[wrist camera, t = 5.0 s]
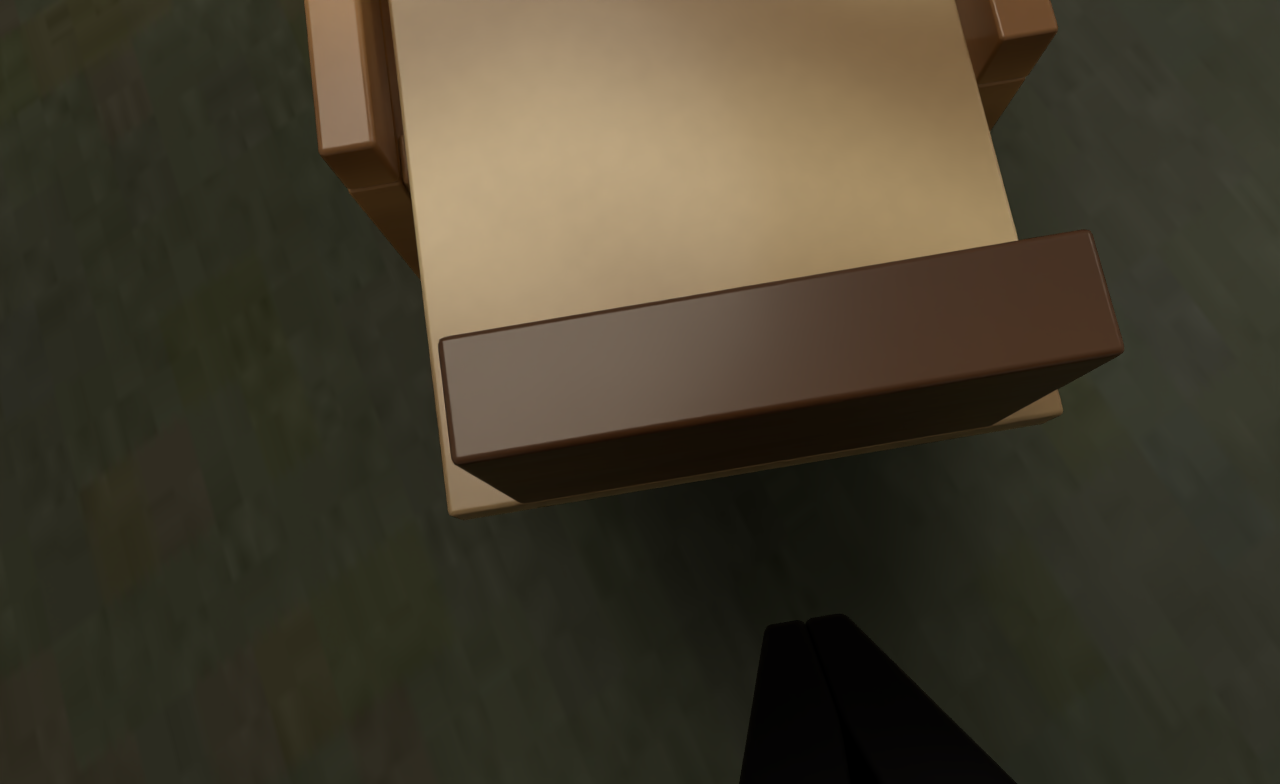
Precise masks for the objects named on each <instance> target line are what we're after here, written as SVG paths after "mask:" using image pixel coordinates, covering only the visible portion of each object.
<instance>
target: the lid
mask: <svg viewBox="0 0 1280 784" xmlns="http://www.w3.org/2000/svg"><path fill="white" fill-rule="evenodd" d="M388 6H389V14H390V23H391V31H392V40H393V48H394V57H395V65H396V74H397V82H398V91H399V100H400V108H401V117H402V125H403V134H404V142H405V151H406V159H407V168H408V176H409V185H410V193H411V202H412V210H413V219H414V227H415V236H416V244H417V253H418V261H419V270H420V278H421V287H422V295H423V304H424V312H425V321H426V329H427V338H428V346H429V355H430V363H431V372H432V380H433V389H434V397H435V406H436V414H437V423H438V431H439V440H440V448H441V457H442V465H443V474H444V483H445V491H446V500H447V508H448V513H449V515H450V516H452V517H455V518H458V519H461V520H468V519H474V518H480V517H486V516H492V515H498V514H504V513H510V512H516V511H522V510H528V509H534V508H540V507H546V506H552V505H558V504H564V503H570V502H576V501H582V500H588V499H594V498H600V497H606V496H612V495H618V494H624V493H630V492H636V491H642V490H648V489H654V488H660V487H666V486H672V485H678V484H684V483H690V482H696V481H702V480H708V479H714V478H720V477H726V476H732V475H738V474H744V473H750V472H756V471H762V470H768V469H774V468H780V467H786V466H792V465H798V464H804V463H810V462H816V461H822V460H828V459H834V458H840V457H846V456H852V455H858V454H864V453H870V452H876V451H882V450H888V449H894V448H900V447H906V446H912V445H918V444H924V443H930V442H936V441H942V440H948V439H954V438H960V437H966V436H972V435H978V434H984V433H990V432H996V431H1002V430H1008V429H1014V428H1020V427H1026V426H1032V425H1038V424H1043V423H1045V422H1047V421H1049V420H1051V419H1053V418H1056V417H1058V416H1060V415H1061V414H1063V407H1062V403H1061V399H1060V396H1059V392H1058V389H1059V388H1061V387H1063V386H1064V385H1066V384H1068V383H1070V382H1072V381H1074V380H1075V379H1077V378H1079V377H1081V376H1083V375H1085V374H1086V373H1088V372H1090V371H1092V370H1094V369H1095V368H1097V367H1099V366H1101V365H1103V364H1105V363H1106V362H1108V361H1110V360H1112V359H1114V358H1116V357H1117V356H1119V355H1121V354H1122V353H1123V352H1124V344H1123V340H1122V337H1121V333H1120V330H1119V326H1118V323H1117V319H1116V315H1115V312H1114V308H1113V305H1112V301H1111V298H1110V294H1109V291H1108V287H1107V284H1106V280H1105V277H1104V273H1103V270H1102V266H1101V263H1100V259H1099V255H1098V252H1097V248H1096V245H1095V241H1094V238H1093V234H1092V233H1091V231H1090V230H1077V231H1071V232H1065V233H1059V234H1053V235H1047V236H1041V237H1035V238H1029V239H1023V240H1018V237H1017V233H1016V229H1015V225H1014V222H1013V218H1012V214H1011V210H1010V207H1009V203H1008V199H1007V195H1006V191H1005V188H1004V184H1003V180H1002V176H1001V173H1000V169H999V165H998V161H997V157H996V154H995V150H994V146H993V142H992V139H991V135H990V131H989V127H988V123H987V120H986V116H985V112H984V108H983V105H982V101H981V97H980V93H979V89H978V86H977V82H976V78H975V74H974V71H973V67H972V63H971V59H970V55H969V52H968V48H967V44H966V40H965V37H964V33H963V29H962V25H961V21H960V18H959V14H958V10H957V6H956V3H955V0H388Z"/></svg>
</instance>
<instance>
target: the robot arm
mask: <svg viewBox="0 0 1280 784" xmlns="http://www.w3.org/2000/svg"><path fill="white" fill-rule="evenodd" d="M739 784H1017V783H1016V782H1015V781H1014V780H1013V779H1012V778H1011V777H1010V776H1009V775H1008V774H1007V773H1006V772H1005V771H1004V770H1003V769H1002V768H1001V767H1000V766H999V765H998V764H997V763H996V762H995V761H994V760H993V759H992V758H991V757H990V756H989V755H988V754H987V753H986V752H985V751H984V750H983V749H981V748H980V747H979V746H978V745H977V744H976V743H975V742H974V741H973V740H972V739H971V738H970V737H969V736H968V735H967V734H966V733H965V732H964V731H963V730H962V729H961V728H960V727H959V726H958V725H957V724H956V723H955V722H954V721H953V720H952V719H951V718H950V717H949V716H948V715H947V714H946V713H945V712H944V711H943V710H942V709H941V708H940V707H939V706H938V705H937V704H936V703H935V702H934V701H933V700H932V699H931V698H930V697H929V696H928V695H927V694H926V693H925V692H924V691H923V690H922V689H921V688H920V687H919V686H918V685H917V684H916V683H915V682H914V681H913V680H912V679H911V678H910V677H909V676H908V675H907V674H906V673H905V672H904V671H903V670H902V669H901V668H900V667H899V666H898V665H897V664H896V663H895V662H894V661H892V660H891V659H890V658H889V657H888V656H887V655H886V654H885V653H884V652H883V651H882V650H881V649H880V648H879V647H878V646H877V645H876V644H875V643H874V642H873V641H872V640H871V639H870V638H869V637H868V636H867V635H866V634H865V633H864V632H863V631H862V630H861V629H860V628H859V627H858V626H857V625H856V624H855V623H854V622H853V621H852V620H851V619H850V618H849V617H848V616H846V615H844V614H832V615H826V616H820V617H814V618H810V619H809V620H808V621H807V622H806V624H804V623H803V622H802V621H800V620H796V621H790V622H784V623H778V624H772V625H769V626H767V627H766V629H765V631H764V636H763V642H762V649H761V655H760V661H759V667H758V673H757V679H756V685H755V691H754V697H753V703H752V709H751V715H750V721H749V727H748V734H747V740H746V746H745V752H744V758H743V764H742V770H741V776H740V782H739Z"/></svg>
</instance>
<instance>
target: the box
mask: <svg viewBox="0 0 1280 784" xmlns="http://www.w3.org/2000/svg"><path fill="white" fill-rule="evenodd" d="M955 3H956V6H957V10H958V14H959V18H960V21H961V25H962V29H963V33H964V37H965V40H966V44H967V48H968V52H969V55H970V59H971V63H972V67H973V71H974V74H975V78H976V82H977V86H978V89H979V93H980V97H981V101H982V105H983V108H984V112H985V116H986V120H987V123H988V127H989V131H991V130H992V128H993V127H994V125H995V124H996V122H997V121H998V119H999V118H1000V116H1001V115H1002V113H1003V112H1004V110H1005V109H1006V107H1007V106H1008V104H1009V103H1010V101H1011V100H1012V98H1013V97H1014V95H1015V94H1016V92H1017V91H1018V89H1019V88H1020V86H1021V85H1022V83H1023V82H1024V80H1025V77H1026V76H1027V75H1029V73H1030V72H1031V70H1032V69H1033V67H1034V66H1035V64H1036V63H1037V61H1038V60H1039V58H1040V57H1041V55H1042V54H1043V52H1044V51H1045V49H1046V48H1047V46H1048V45H1049V43H1050V42H1051V40H1052V39H1053V37H1054V36H1055V34H1056V33H1057V31H1058V25H1057V22H1056V18H1055V15H1054V11H1053V8H1052V5H1051V1H1050V0H955ZM304 5H305V15H306V26H307V36H308V47H309V57H310V67H311V78H312V88H313V99H314V109H315V120H316V130H317V141H318V151H319V154H320V155H321V157H322V158H323V159H324V160H325V162H326V163H327V164H328V165H329V167H330V168H331V169H332V170H333V172H334V173H335V174H336V175H337V176H338V178H339V179H340V180H341V181H342V183H343V184H344V185H345V186H346V188H348V191H349V193H350V194H351V196H352V197H353V198H354V199H355V201H356V202H357V203H358V204H359V205H360V207H361V208H362V209H363V210H364V212H365V213H366V214H367V215H368V216H369V218H370V219H371V220H372V221H373V223H374V224H375V225H376V226H377V227H378V229H379V230H380V231H381V232H382V234H383V235H384V236H385V237H386V238H387V240H388V241H389V242H390V243H391V245H392V246H393V247H394V248H395V249H396V251H397V252H398V253H399V254H400V256H401V257H402V258H403V259H404V261H405V262H406V263H407V264H408V265H409V267H410V268H411V269H412V270H413V272H414V273H415V274H416V275H417V276H418V278H419V279H420V280H421V278H420V270H419V261H418V253H417V244H416V236H415V227H414V219H413V210H412V202H411V193H410V185H409V176H408V168H407V159H406V151H405V142H404V134H403V125H402V117H401V108H400V100H399V91H398V82H397V74H396V65H395V57H394V48H393V40H392V31H391V23H390V14H389V6H388V0H304Z"/></svg>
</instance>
